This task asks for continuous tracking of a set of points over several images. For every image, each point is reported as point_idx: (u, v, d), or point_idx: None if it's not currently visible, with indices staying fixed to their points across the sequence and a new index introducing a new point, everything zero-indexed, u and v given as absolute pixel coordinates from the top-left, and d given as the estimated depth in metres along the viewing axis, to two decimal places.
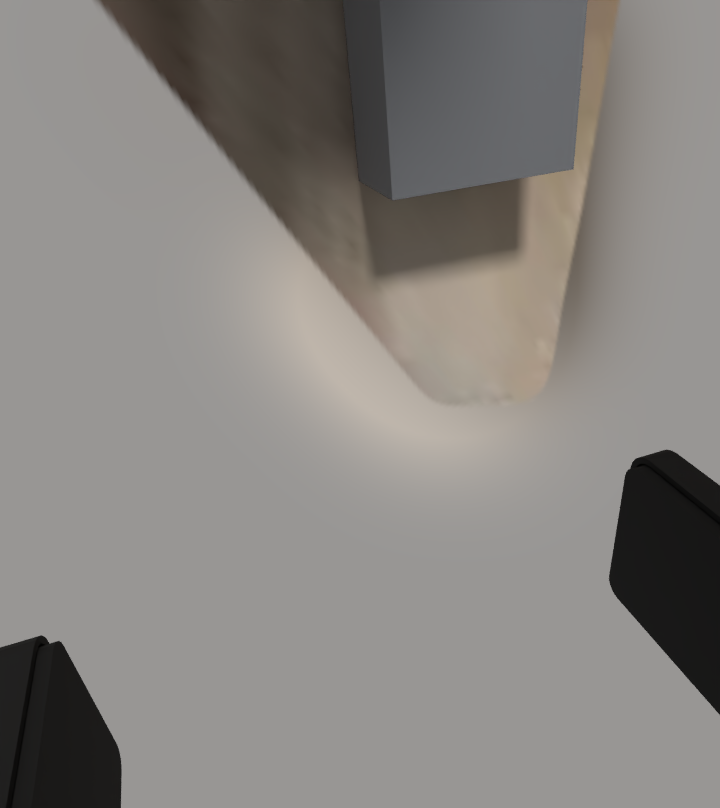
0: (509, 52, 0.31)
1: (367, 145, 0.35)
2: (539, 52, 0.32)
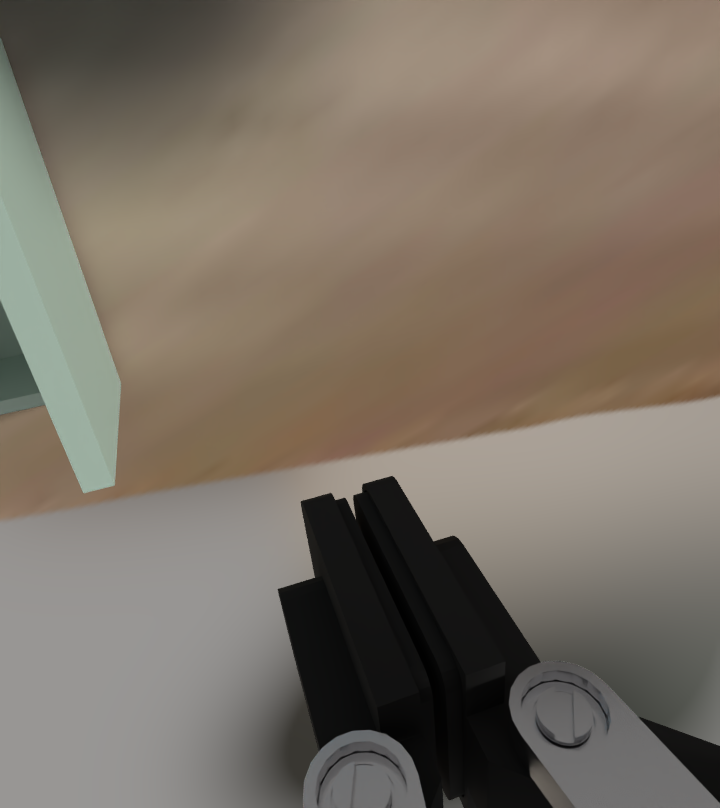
0: None
1: None
2: None
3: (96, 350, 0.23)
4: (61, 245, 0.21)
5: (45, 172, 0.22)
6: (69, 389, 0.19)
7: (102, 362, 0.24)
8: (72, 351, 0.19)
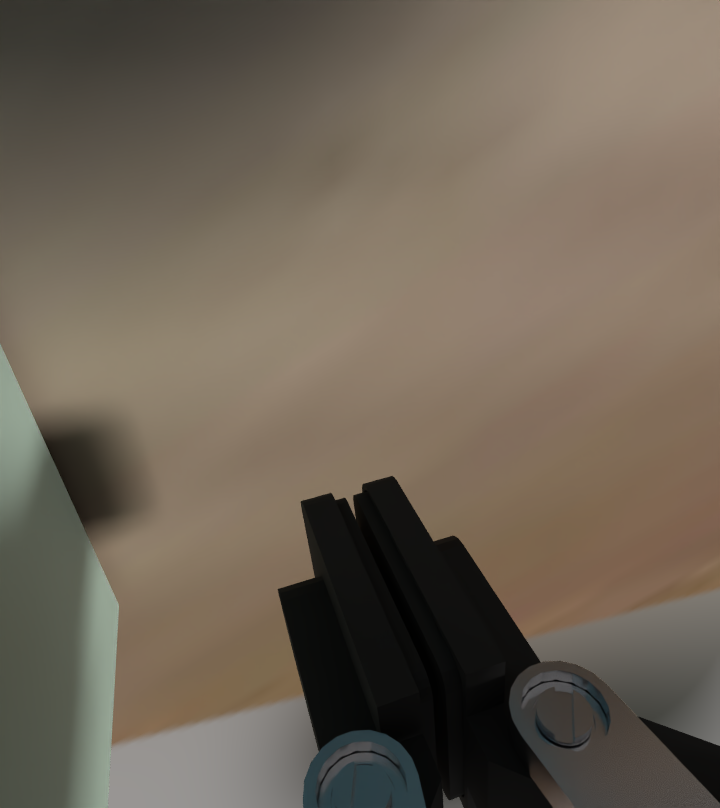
0: None
1: None
2: None
3: (69, 610, 0.12)
4: None
5: None
6: None
7: (82, 620, 0.13)
8: None
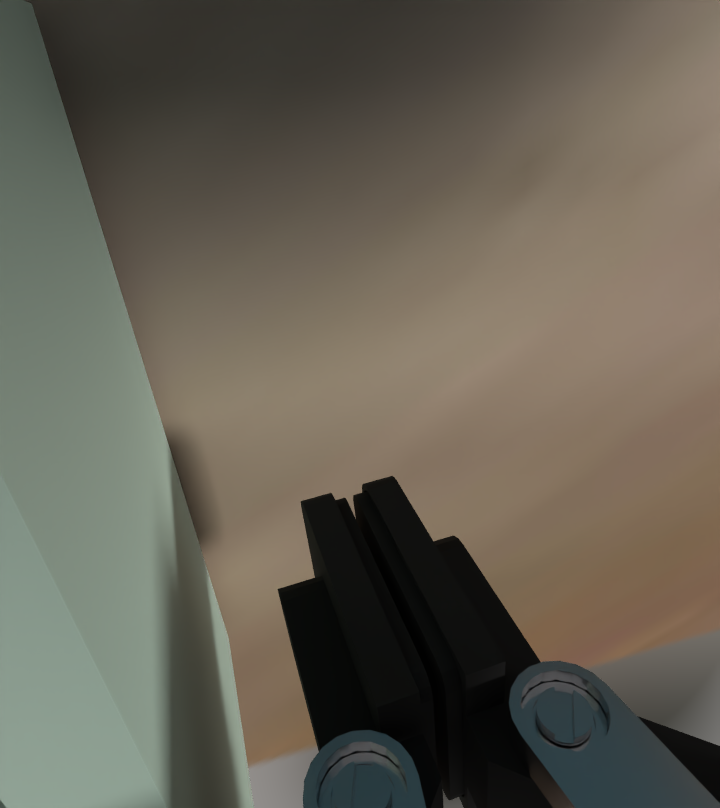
0: None
1: None
2: None
3: (214, 650, 0.11)
4: (158, 469, 0.10)
5: (121, 303, 0.10)
6: None
7: (219, 659, 0.12)
8: (215, 807, 0.07)
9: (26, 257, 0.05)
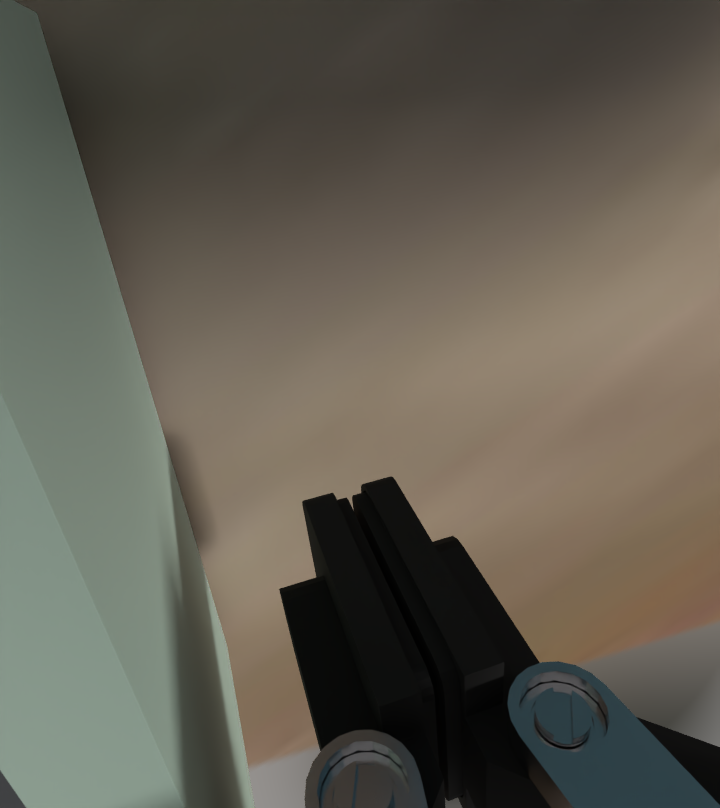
0: None
1: None
2: None
3: (215, 656, 0.11)
4: (161, 473, 0.10)
5: (123, 309, 0.10)
6: None
7: (220, 666, 0.12)
8: None
9: (44, 258, 0.05)
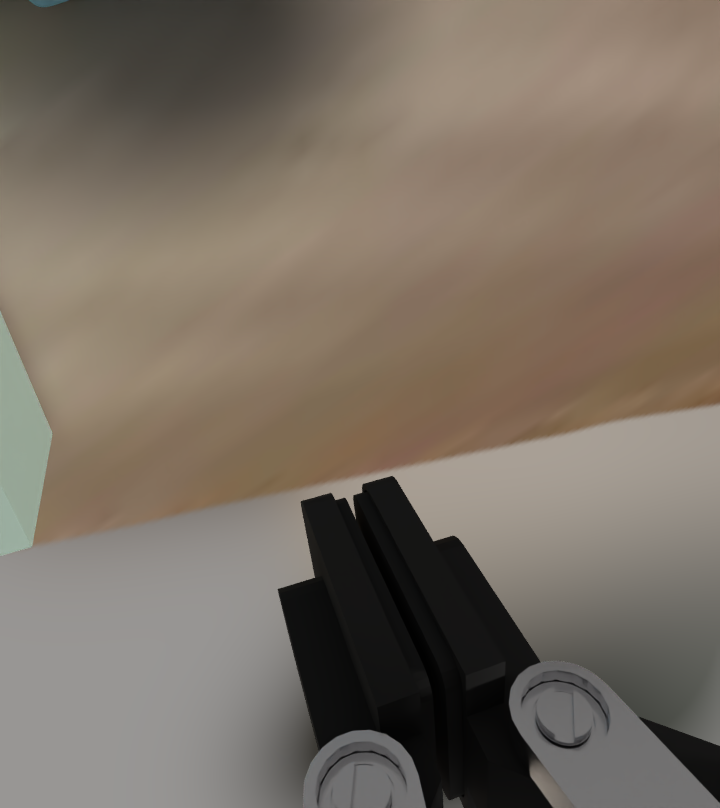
0: None
1: None
2: None
3: (18, 403, 0.23)
4: None
5: None
6: None
7: (26, 415, 0.23)
8: None
9: None
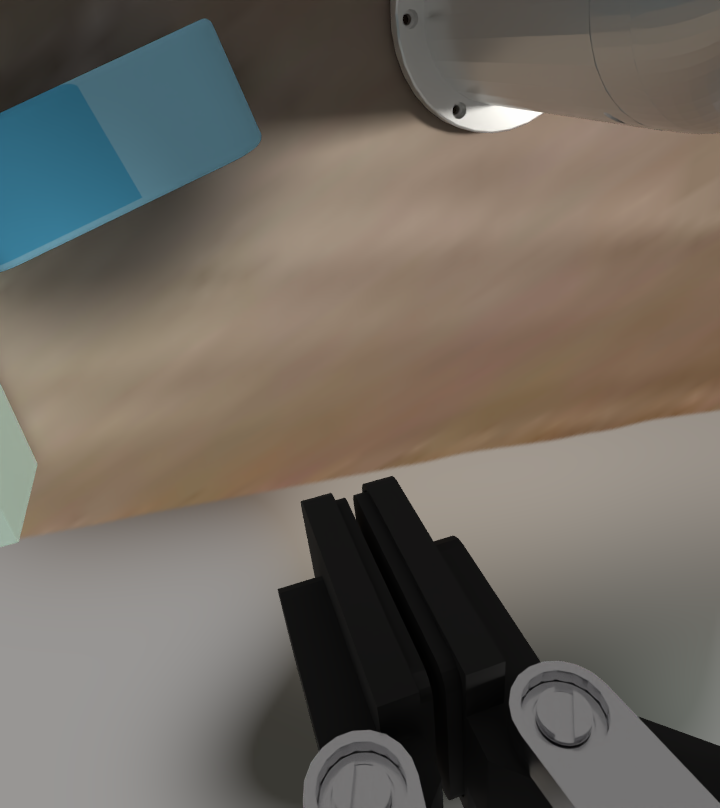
0: None
1: None
2: None
3: (13, 449, 0.35)
4: None
5: None
6: None
7: (18, 456, 0.36)
8: None
9: None
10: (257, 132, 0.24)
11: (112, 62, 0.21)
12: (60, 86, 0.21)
